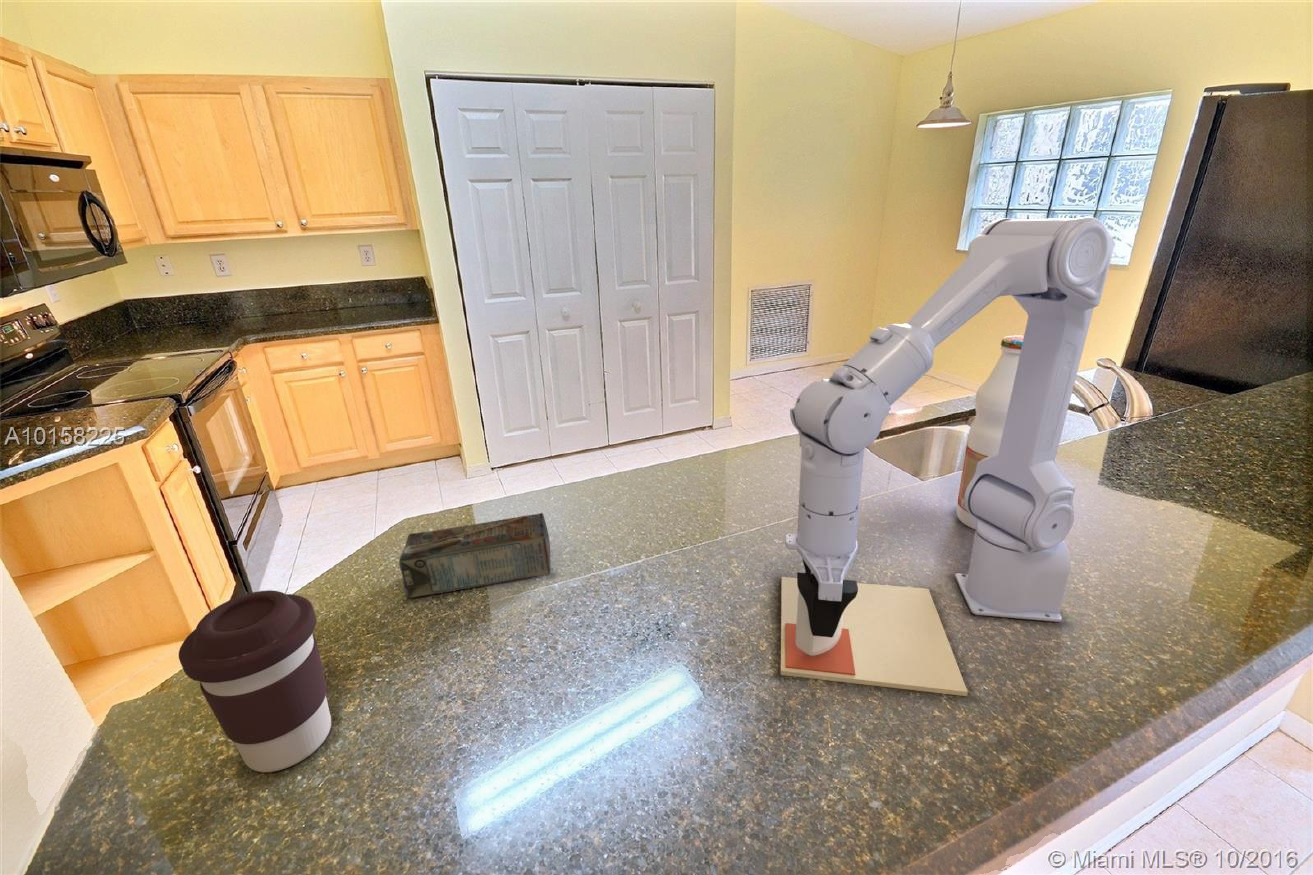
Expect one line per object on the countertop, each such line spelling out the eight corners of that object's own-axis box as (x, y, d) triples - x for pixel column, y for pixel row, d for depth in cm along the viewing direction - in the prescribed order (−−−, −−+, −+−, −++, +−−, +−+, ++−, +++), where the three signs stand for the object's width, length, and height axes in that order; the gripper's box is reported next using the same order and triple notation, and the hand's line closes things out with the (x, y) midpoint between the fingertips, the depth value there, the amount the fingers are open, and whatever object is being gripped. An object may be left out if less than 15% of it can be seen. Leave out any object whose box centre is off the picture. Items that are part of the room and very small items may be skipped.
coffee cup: (265, 705, 60) (219, 584, 54) (363, 696, 60) (327, 574, 55) (202, 795, 50) (140, 658, 45) (319, 782, 51) (271, 646, 46)
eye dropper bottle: (852, 651, 61) (861, 554, 57) (801, 659, 60) (807, 561, 56) (833, 624, 65) (841, 532, 61) (786, 631, 64) (790, 538, 60)
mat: (927, 592, 72) (928, 587, 72) (967, 696, 57) (968, 690, 57) (781, 580, 76) (781, 575, 76) (780, 675, 60) (780, 669, 60)
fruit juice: (965, 534, 84) (997, 345, 74) (947, 504, 93) (974, 332, 83) (1036, 538, 83) (1079, 345, 73) (1011, 507, 91) (1046, 331, 81)
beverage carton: (415, 568, 83) (406, 527, 80) (550, 547, 86) (545, 507, 84) (405, 601, 75) (395, 557, 73) (553, 576, 79) (548, 534, 77)
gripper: (786, 470, 64) (782, 573, 69) (787, 537, 51) (782, 659, 56) (853, 473, 63) (844, 578, 68) (871, 543, 49) (858, 667, 54)
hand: (820, 615), depth 62 cm, fingers closed on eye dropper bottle, 5 cm apart
